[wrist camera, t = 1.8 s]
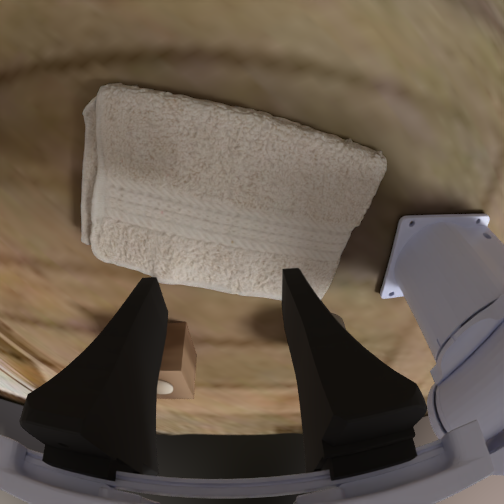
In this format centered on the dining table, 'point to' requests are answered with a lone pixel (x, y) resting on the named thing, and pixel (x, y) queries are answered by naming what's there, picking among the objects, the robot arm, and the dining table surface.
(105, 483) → the robot arm
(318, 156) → the washcloth
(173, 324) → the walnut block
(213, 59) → the dining table surface
